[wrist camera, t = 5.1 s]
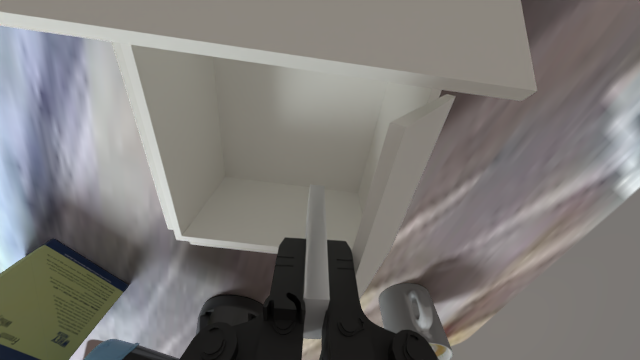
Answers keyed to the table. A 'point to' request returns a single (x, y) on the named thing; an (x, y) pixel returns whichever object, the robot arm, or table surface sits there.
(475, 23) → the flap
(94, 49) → the table surface
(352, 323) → the robot arm
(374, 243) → the side flap
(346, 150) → the carton
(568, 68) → the table surface
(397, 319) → the coffee mug
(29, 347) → the protein box
